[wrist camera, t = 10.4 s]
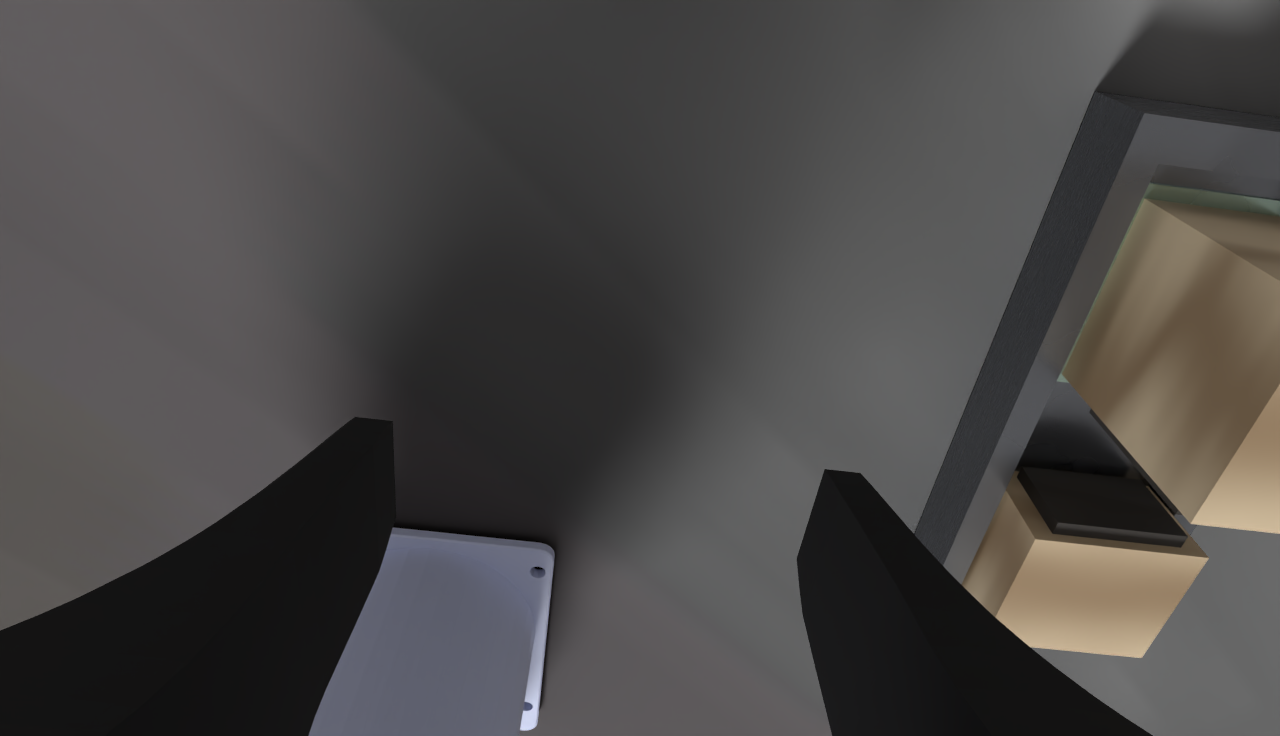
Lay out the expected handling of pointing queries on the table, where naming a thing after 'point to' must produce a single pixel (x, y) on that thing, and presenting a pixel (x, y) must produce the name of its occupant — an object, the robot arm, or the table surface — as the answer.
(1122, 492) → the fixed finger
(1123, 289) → the tan wooden block
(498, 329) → the table surface
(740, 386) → the table surface
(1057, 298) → the grey rectangular tray
